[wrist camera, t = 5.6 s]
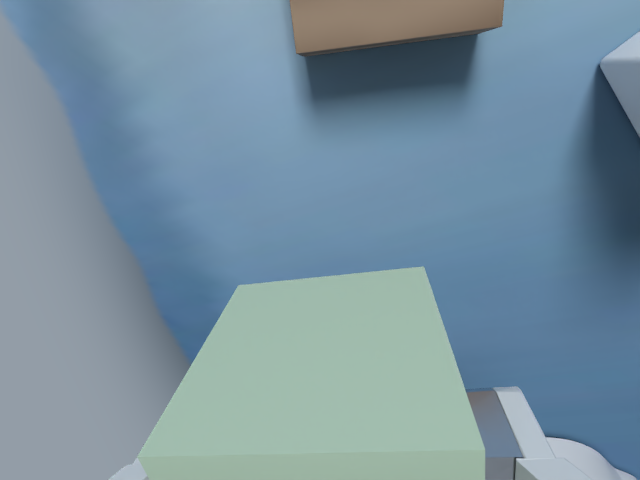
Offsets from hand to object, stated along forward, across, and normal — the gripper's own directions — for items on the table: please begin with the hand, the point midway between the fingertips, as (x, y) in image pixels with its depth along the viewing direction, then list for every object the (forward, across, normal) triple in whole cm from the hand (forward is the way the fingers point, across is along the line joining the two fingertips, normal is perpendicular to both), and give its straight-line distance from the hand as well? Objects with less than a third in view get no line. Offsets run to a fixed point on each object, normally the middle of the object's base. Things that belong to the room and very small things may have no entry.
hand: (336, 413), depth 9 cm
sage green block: (+2, 0, 0) cm, 2 cm away
